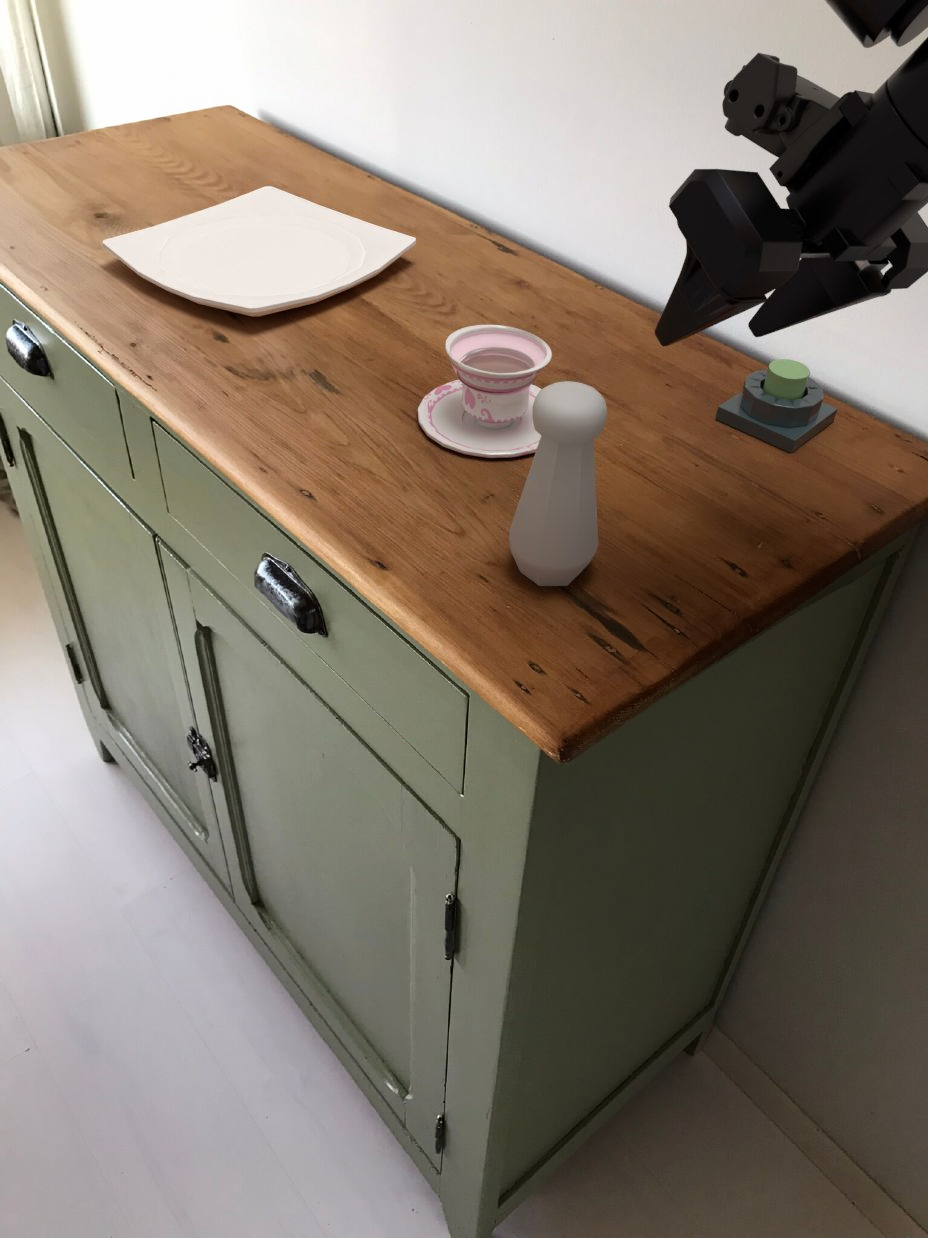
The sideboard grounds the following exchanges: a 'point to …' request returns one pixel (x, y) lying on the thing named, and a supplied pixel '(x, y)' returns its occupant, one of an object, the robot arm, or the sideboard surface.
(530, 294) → the sideboard surface
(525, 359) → the teacup
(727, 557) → the sideboard surface
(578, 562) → the salt shaker
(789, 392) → the green short cylinder
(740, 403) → the button base
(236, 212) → the plate
